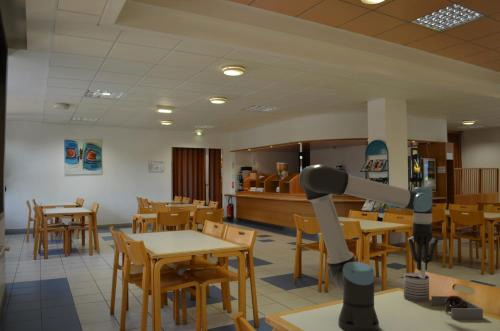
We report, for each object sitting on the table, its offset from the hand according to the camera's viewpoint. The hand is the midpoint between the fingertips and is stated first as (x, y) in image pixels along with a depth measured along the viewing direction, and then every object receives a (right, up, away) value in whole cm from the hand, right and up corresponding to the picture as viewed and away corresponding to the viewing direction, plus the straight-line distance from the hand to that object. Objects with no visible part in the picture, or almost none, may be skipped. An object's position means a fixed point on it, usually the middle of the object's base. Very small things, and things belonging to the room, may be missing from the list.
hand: (421, 277), depth 170 cm
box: (+15, -15, 0) cm, 21 cm away
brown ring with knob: (+14, -15, -1) cm, 21 cm away
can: (+5, -15, +18) cm, 24 cm away
